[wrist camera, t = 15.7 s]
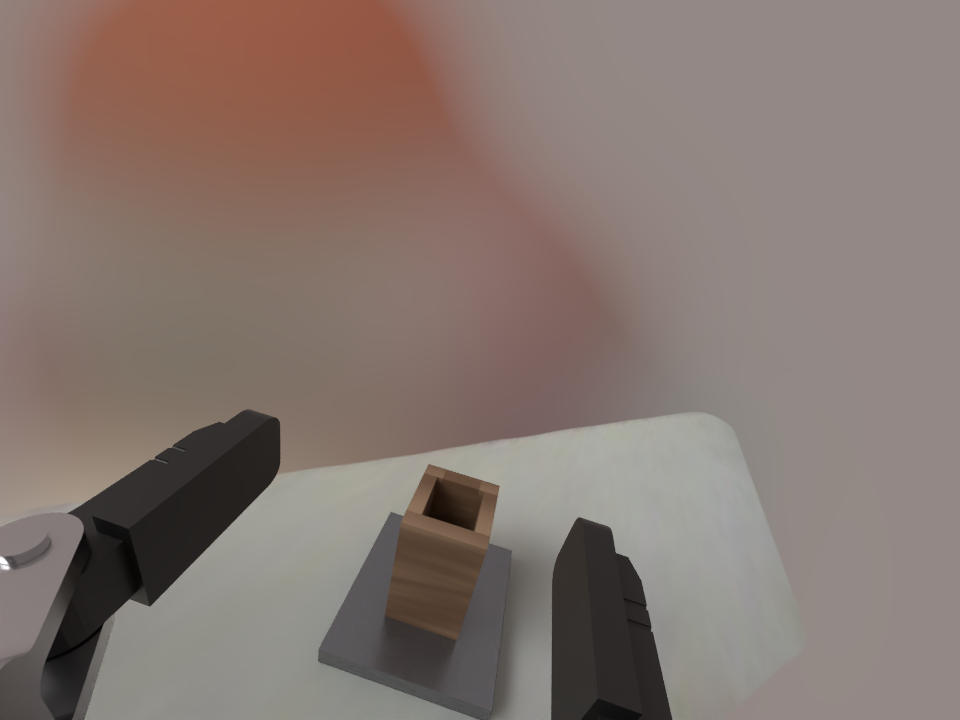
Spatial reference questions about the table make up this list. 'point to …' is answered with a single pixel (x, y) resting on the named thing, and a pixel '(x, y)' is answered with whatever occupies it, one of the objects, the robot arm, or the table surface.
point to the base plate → (421, 635)
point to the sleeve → (441, 551)
